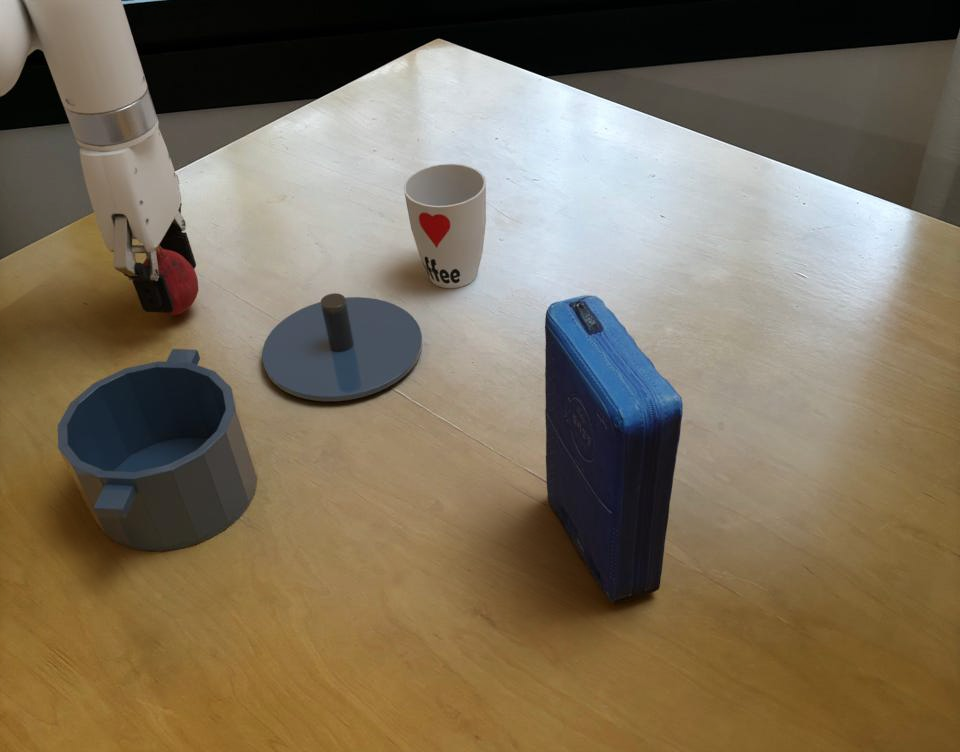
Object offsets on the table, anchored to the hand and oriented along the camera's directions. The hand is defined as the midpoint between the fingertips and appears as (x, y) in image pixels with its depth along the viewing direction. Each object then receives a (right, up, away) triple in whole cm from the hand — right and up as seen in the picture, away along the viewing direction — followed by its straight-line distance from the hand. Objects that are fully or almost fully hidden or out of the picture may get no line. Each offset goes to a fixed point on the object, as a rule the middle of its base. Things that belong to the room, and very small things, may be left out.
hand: (170, 287), depth 110 cm
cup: (+29, +2, +4) cm, 29 cm away
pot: (+5, -23, -14) cm, 27 cm away
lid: (+18, -7, -4) cm, 20 cm away
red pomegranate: (0, -2, +3) cm, 3 cm away
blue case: (+42, -29, -22) cm, 55 cm away
